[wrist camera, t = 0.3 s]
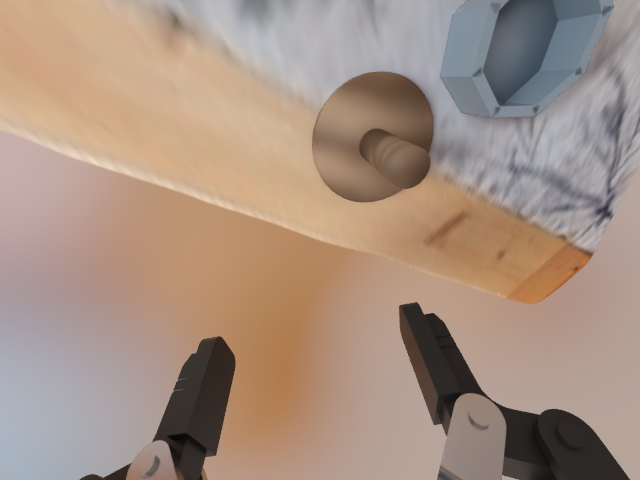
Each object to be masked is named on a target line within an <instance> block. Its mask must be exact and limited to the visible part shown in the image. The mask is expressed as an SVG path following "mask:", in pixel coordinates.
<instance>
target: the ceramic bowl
mask: <svg viewBox="0 0 640 480" xmlns="http://www.w3.org/2000/svg"><path fill="white" fill-rule="evenodd" d="M613 8H614V5H613V0H466V1H465V3H464V4H463V5H462V6H461V7H460V8H459V9H458V10H457V11H456V12H455V14H454V15H453V16H452V21H451V26H450V31H449V36H448V41H447V46H446V51H445V56H444V60H443V65H442V70H441V75H440V77H441V79H442V81H443V82H444V84H445V86H446V87H447V89H448V91H449V93H450V94H451V96H452V98H453V100H454V101H455V103H456V105H457V106H458V108H459V110H460V112H462V113H468V114H473V115H479V116H484V117H490V118H500V117H526V116H536V115H537V114H538V113H540V112H541V111H542V110H543V109H544V108H545V107H546V106H548V105H549V104H550V103H551V102H552V101H553V100H555V99H556V98H557V97H558V96H559V95H560V94H561V93H563V92H564V91H565V90H566V89H567V88H568V87H570V86H571V85H572V84H573V83H574V82H575V81H576V80H578V79H579V78H580V77H581V76H582V75H583V74H584V71H585V69H586V67H587V65H588V63H589V60H590V58H591V56H592V54H593V52H594V49H595V47H596V45H597V43H598V41H599V38H600V36H601V34H602V32H603V30H604V27H605V25H606V23H607V21H608V19H609V16H610V14H611V12H612V10H613Z"/></svg>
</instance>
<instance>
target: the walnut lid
mask: <svg viewBox="0 0 640 480" xmlns="http://www.w3.org/2000/svg"><path fill="white" fill-rule="evenodd" d="M432 136H433V118H432V113H431V109H430V106H429V103H428V101H427V99H426V97H425V95H424V94H423V92H422V91H421V90H420V89H419V87H418V86H416V85H415V84H414V83H413V82H412V81H410V80H409V79H407V78H406V77H403V76H401V75H399V74H395V73H391V72H372V73H366V74H363V75H359V76H357V77H355V78H352V79H351V80H349V81H347V82H346V83H344V84H343V85H342V86H340V87H339V88H338V89H337V90H336V91H335V92H334V93H333V94H332V95H331V96H330V97H329V99H328V100H327V101H326V103H325V104H324V106H323V108H322V109H321V111H320V113H319V116H318V118H317V120H316V124H315V127H314V132H313V139H312V150H313V157H314V162H315V165H316V168H317V170H318V172H319V174H320V176H321V178H322V179H323V181H324V182H325V184H326V185H327V186H328V187H329V188H330V189H331V190H332V191H333V192H335V193H336V194H337V195H339V196H341V197H343V198H345V199H348V200H351V201H355V202H373V201H378V200H382V199H385V198H387V197H390V196H391V195H393V194H395V193H397V192H398V191H400V190H401V189H407V188H412V187H414V186H416V185H418V184H419V183H420V182H421V181H422V180H423V179H424V178H425V177H426V175H427V173H428V171H429V168H430V158H429V155H428V153H429V150H430V146H431V142H432Z"/></svg>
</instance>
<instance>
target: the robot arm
mask: <svg viewBox="0 0 640 480" xmlns="http://www.w3.org/2000/svg"><path fill="white" fill-rule="evenodd" d="M399 315H400V331H401V335H402V339H403V342H404V344H405V347H406V350H407V353H408V355H409V358H410V361H411V364H412V366H413V369H414V372H415V374H416V377H417V380H418V383H419V385H420V388H421V391H422V394H423V396H424V399H425V402H426V405H427V407H428V410H429V413H430V416H431V418H432V421H433V424H434V425H437V424H442V426H443V428H444V431H445V434H446V436H447V439H446V444H445V448H444V452H443V457H442V461H441V465H440V469H439V474H438V478H437V480H502V475H504V476H508V477H511V478H515V479H519V480H630V479H629V478H628V476H627V475H626V474H625V472H624V471H623V470H622V468H621V467H620V465H619V464H618V463H617V461H616V460H615V459H614V457H613V456H612V455H611V453H610V452H609V450H608V449H607V448H606V446H605V445H604V444H603V442H602V441H601V440H600V438H599V437H598V436H597V434H596V433H595V432H594V431H593V430H592V428H590V426H588V425H587V424H586V423H585V422H584V421H582V420H581V419H580V418H578V417H576V416H575V415H573V414H571V413H569V412H566V411H563V410H558V409H549V410H546V411H544V412H542V413H541V415H537V414H533V413H528V412H523V411H518V410H513V409H509V408H506V407H503V406H501V405H499V404H497V403H496V402H494V401H492V400H491V399H490V398H489V397H488V396H487V395H486V394H485V393H484V392H483V391H482V390H481V388H480V387H479V385H478V383H477V381H476V380H475V378H474V376H473V374H472V373H471V371H470V369H469V367H468V365H467V363H466V361H465V360H464V358H463V356H462V354H461V353H460V350H459V349H458V347H457V346H456V343H455V342H454V340H453V338H452V337H451V334H450V332H449V330H448V329H447V327H446V325H445V323H444V322H443V321H442V320H440V319H439V318H438V317H437V316H436V315H435V314H434V313H431V314H425V315H424V314H423V312H422V310H421V308H420V305H419V304H418V303H417V302H415V303H410V304H404V305H400V306H399ZM234 371H235V356H234V354H233V352H232V351H231V350H230V348H229V347H228V345H227V344H226V342H225V341H224V340H223V338H222V337H220V336H219V337H213V338H207V339H203V340H202V341H201V342H200V344H199V347H198V350H197V352H196V353H195V354H191V356H190V357H189V359H188V360H187V361H186V363H185V364H184V365H183V367H182V370H181V372H180V375H179V377H178V382H176V385H175V387H174V392H173V393H172V395H171V398H170V400H169V403H168V405H167V408H166V410H165V413H164V415H163V418H162V420H161V423H160V425H159V428H158V431H157V433H156V435H155V437H154V439H153V441H152V443H150V444H148V445H147V446H146V447H144V448H143V449H142V450H141V451H140V452H139V453H138V455H137V456H136V457H135V459H134V460H133V462H132V463H131V464H129V465H127V466H125V467H123V468H121V469H119V470H117V471H115V472H114V473H112V474H110V475H108V476H106V477H104V478H103V477H100V476H98V475H94V474H91V475H88V476H85V477H83V478H81V479H80V480H208V479H207V476H206V473H205V470H204V469H203V464H204V460H205V457H209V456H215V455H216V452H217V448H218V444H219V439H220V435H221V430H222V425H223V421H224V416H225V412H226V407H227V403H228V398H229V394H230V389H231V384H232V380H233V375H234Z"/></svg>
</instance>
